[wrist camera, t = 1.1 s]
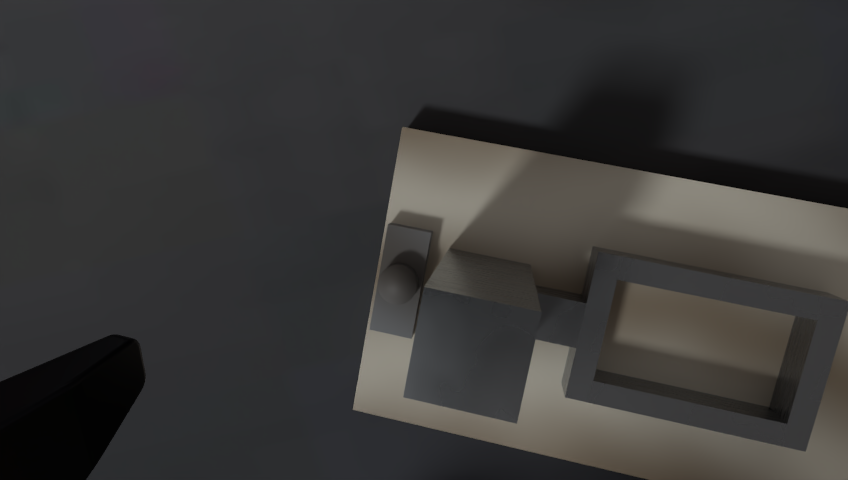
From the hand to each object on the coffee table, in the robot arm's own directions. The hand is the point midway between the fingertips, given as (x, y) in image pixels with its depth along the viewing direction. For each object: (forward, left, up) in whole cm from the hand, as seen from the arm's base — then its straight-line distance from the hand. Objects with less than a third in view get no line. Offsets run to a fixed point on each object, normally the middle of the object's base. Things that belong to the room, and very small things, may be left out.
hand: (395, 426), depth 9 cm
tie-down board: (-1, -11, -14) cm, 18 cm away
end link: (-1, -6, -13) cm, 14 cm away
